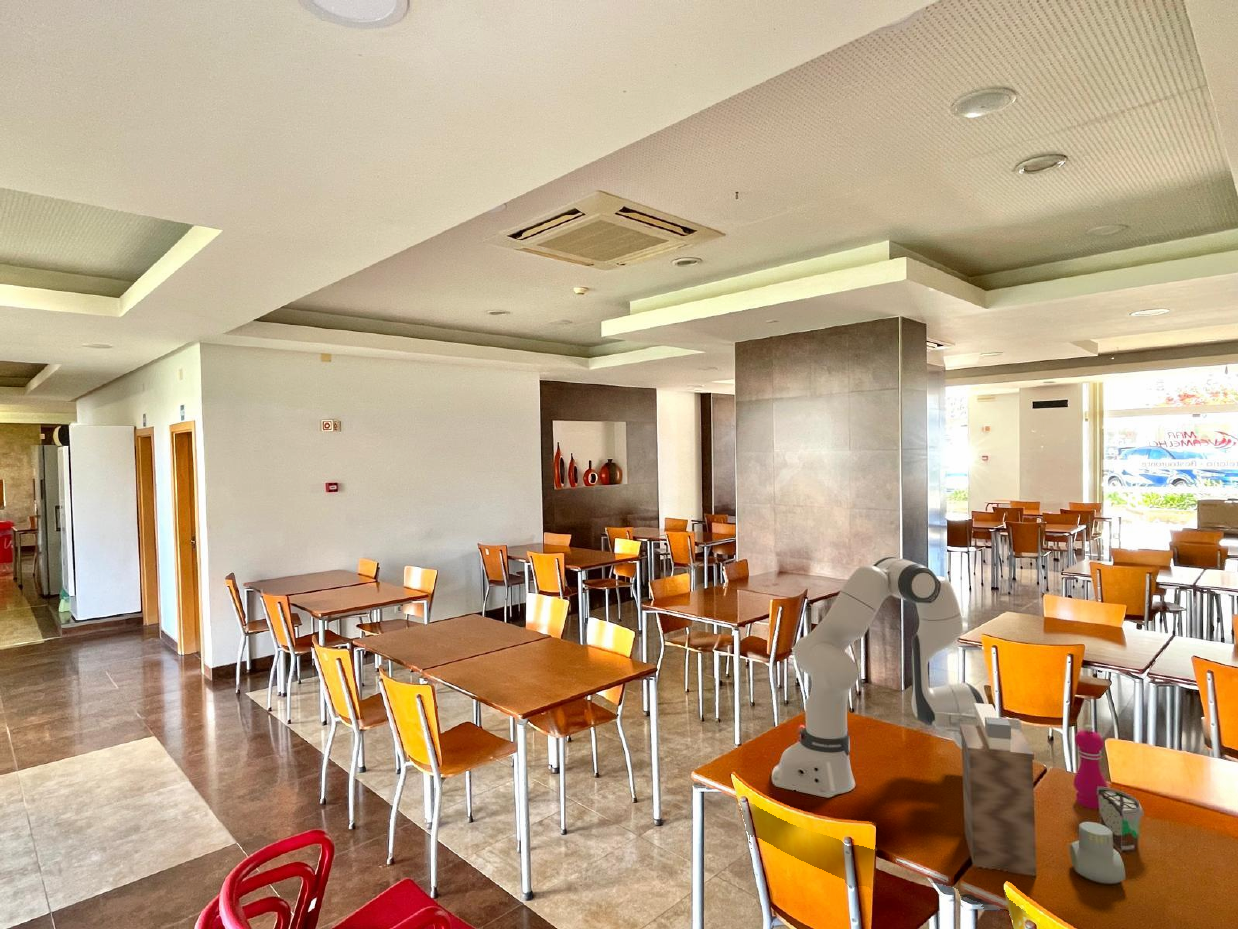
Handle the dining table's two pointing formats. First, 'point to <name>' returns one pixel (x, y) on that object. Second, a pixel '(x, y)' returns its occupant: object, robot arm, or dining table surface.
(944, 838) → the dining table surface
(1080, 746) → the pepper mill
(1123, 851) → the food container
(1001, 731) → the cream rectangular block
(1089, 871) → the air freshener
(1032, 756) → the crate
